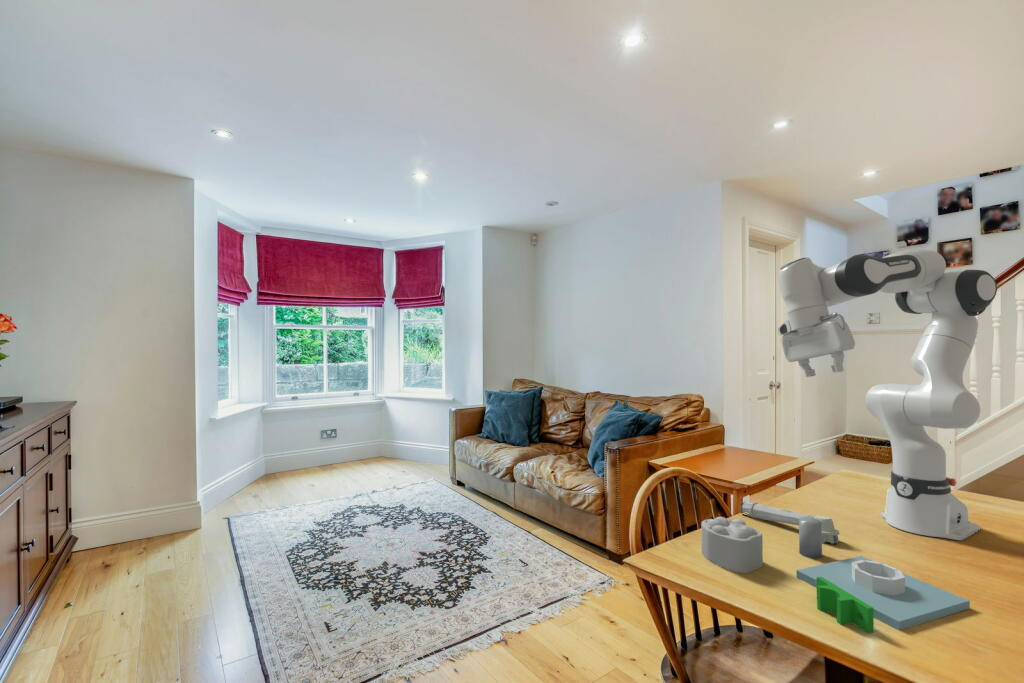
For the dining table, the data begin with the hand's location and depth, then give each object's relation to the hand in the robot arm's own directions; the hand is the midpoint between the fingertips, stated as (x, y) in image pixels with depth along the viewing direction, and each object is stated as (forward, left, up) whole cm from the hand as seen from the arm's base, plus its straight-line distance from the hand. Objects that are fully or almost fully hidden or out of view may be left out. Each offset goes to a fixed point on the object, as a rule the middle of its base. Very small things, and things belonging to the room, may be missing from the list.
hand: (824, 374), depth 117 cm
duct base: (+11, +19, -43) cm, 48 cm away
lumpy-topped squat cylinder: (+28, -3, -43) cm, 51 cm away
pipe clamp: (+26, +22, -43) cm, 55 cm away
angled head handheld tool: (-1, -12, -43) cm, 45 cm away
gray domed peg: (+8, +2, -43) cm, 43 cm away
